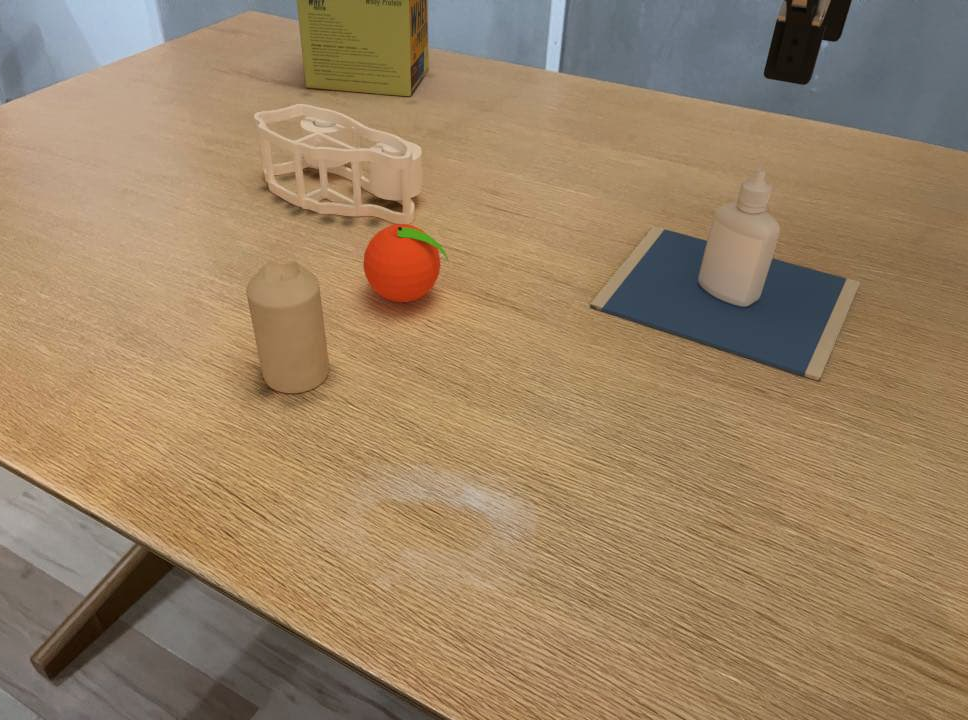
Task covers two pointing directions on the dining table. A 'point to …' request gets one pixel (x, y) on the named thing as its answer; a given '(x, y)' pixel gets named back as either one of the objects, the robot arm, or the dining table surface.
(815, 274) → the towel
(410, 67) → the protein box
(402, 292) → the clementine
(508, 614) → the dining table surface
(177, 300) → the dining table surface
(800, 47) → the robot arm
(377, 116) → the dining table surface
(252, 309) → the candle
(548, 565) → the dining table surface
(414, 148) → the cream open lattice frame
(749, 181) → the eye dropper bottle
